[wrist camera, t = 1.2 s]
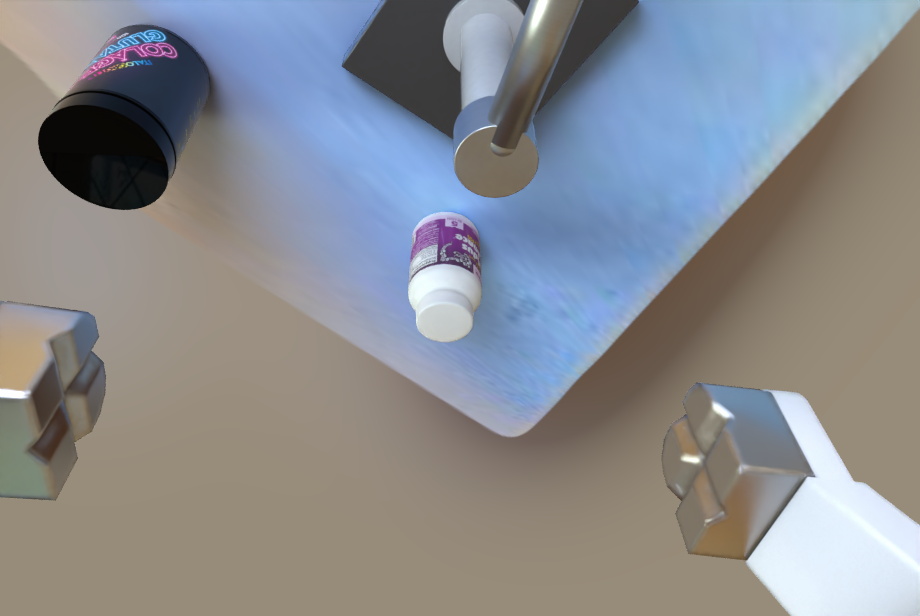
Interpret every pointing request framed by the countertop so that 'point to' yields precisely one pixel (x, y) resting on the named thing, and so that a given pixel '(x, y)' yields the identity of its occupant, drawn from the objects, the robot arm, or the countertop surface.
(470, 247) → the pill bottle
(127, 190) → the supplement container
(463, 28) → the tap stand
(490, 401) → the countertop surface
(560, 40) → the spout
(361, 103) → the countertop surface
